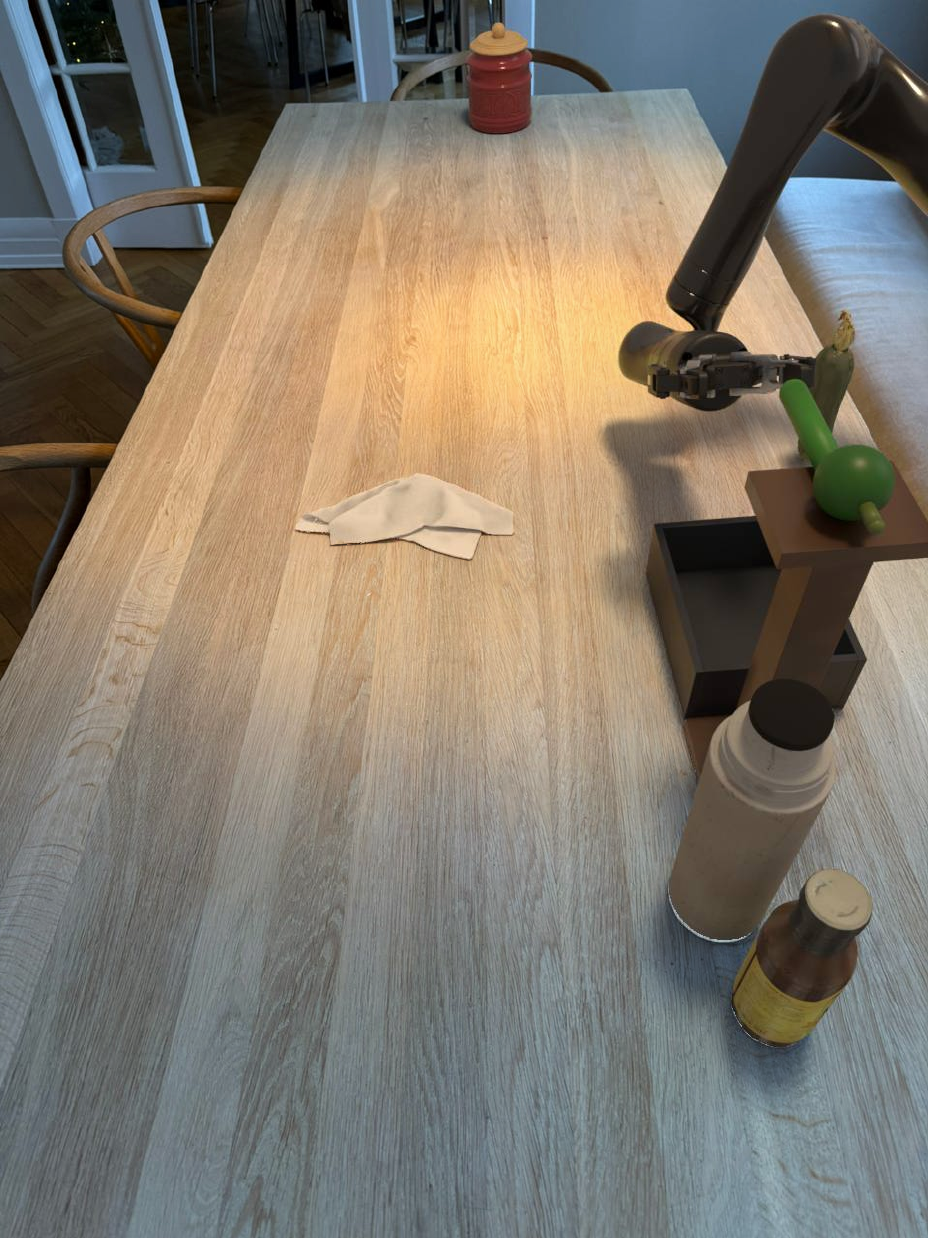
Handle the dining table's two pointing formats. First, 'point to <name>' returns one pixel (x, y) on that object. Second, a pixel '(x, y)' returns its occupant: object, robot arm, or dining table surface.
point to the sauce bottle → (801, 959)
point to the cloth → (413, 516)
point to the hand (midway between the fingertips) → (754, 382)
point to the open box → (724, 612)
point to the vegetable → (833, 374)
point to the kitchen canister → (499, 81)
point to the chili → (839, 464)
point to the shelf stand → (812, 579)
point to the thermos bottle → (753, 808)
